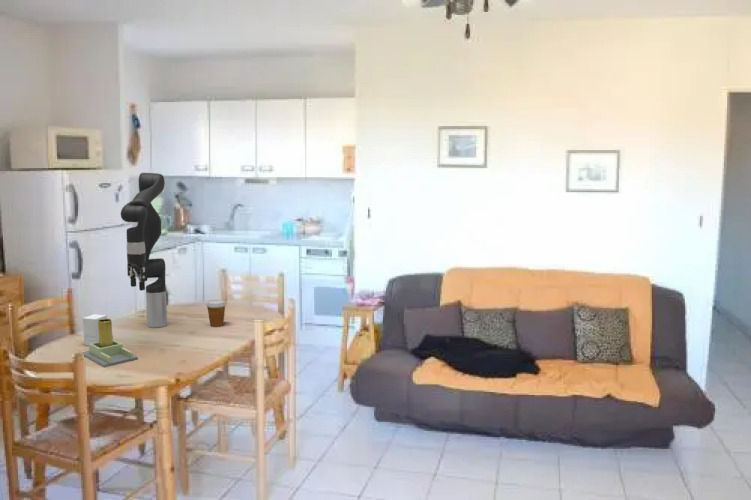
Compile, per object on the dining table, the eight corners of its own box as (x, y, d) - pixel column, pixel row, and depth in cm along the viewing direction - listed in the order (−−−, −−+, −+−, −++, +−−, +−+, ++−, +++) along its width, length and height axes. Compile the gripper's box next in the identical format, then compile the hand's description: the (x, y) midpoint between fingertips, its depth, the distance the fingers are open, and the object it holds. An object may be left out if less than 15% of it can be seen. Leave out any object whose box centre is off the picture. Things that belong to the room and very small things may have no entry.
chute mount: (81, 354, 279) (81, 343, 279) (114, 347, 289) (113, 336, 288) (104, 367, 264) (103, 355, 263) (137, 359, 274) (137, 347, 273)
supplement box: (109, 342, 297) (107, 315, 295) (97, 347, 290) (95, 319, 288) (95, 340, 299) (94, 313, 297) (83, 345, 292) (82, 317, 290)
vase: (101, 350, 281) (99, 318, 279) (116, 350, 282) (114, 318, 280) (96, 355, 275) (94, 322, 273) (111, 355, 276) (109, 322, 274)
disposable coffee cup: (202, 326, 324) (202, 302, 322) (214, 321, 332) (213, 298, 330) (219, 328, 320) (218, 304, 318) (230, 323, 329) (229, 300, 327)
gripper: (120, 250, 287) (122, 286, 290) (134, 255, 277) (136, 292, 280) (137, 248, 292) (138, 284, 295) (151, 253, 282) (153, 290, 285)
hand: (137, 288), depth 287 cm, fingers open, 8 cm apart
